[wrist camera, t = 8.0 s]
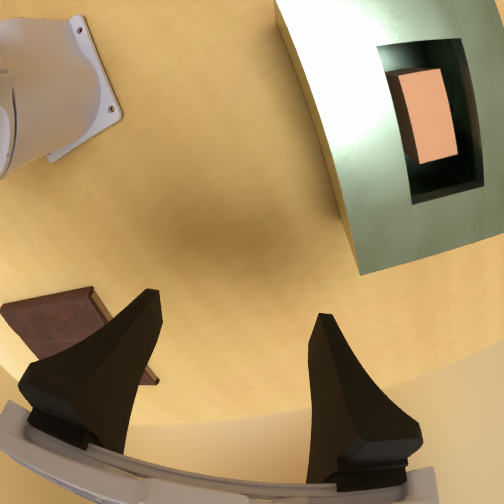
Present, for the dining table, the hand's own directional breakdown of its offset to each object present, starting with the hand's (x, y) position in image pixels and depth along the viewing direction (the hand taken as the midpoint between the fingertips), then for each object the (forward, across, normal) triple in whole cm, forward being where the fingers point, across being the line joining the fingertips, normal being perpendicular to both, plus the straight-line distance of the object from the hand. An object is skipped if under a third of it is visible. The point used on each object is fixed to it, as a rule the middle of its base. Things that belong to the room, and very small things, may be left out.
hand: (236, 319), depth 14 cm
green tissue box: (+10, -8, -10) cm, 16 cm away
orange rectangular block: (+9, -8, -10) cm, 16 cm away
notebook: (+11, +21, +20) cm, 31 cm away
